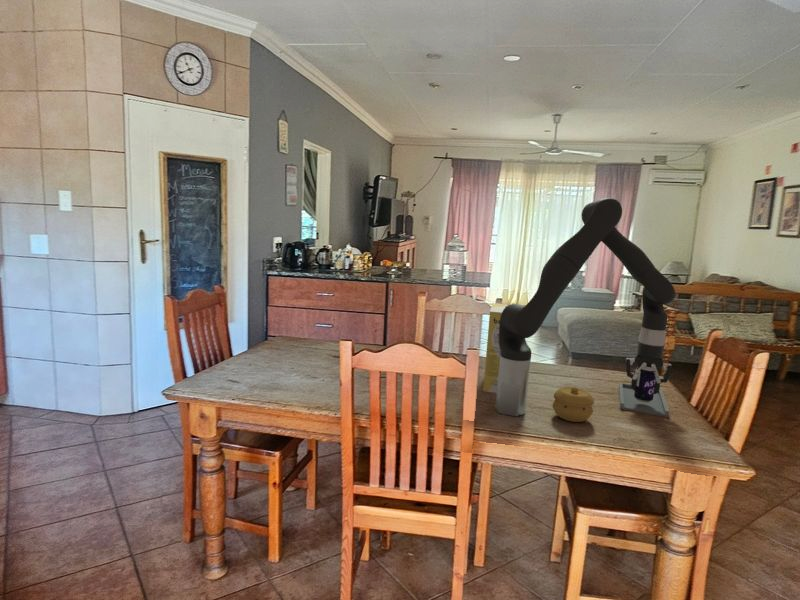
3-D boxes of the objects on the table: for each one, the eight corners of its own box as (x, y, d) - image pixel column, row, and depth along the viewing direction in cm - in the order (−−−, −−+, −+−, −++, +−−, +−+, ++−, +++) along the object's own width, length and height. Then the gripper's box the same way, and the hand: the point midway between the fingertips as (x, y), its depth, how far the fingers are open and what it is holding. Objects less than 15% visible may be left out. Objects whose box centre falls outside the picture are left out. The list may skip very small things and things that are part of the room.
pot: (598, 419, 154) (602, 388, 153) (581, 430, 146) (585, 397, 144) (561, 408, 162) (565, 378, 160) (544, 417, 154) (547, 386, 152)
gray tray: (668, 417, 159) (669, 411, 159) (619, 408, 164) (620, 403, 164) (660, 394, 181) (661, 389, 181) (618, 387, 186) (619, 382, 186)
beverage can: (642, 403, 163) (647, 368, 161) (629, 397, 169) (634, 362, 167) (656, 402, 165) (661, 367, 163) (643, 396, 170) (648, 362, 168)
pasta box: (486, 375, 192) (492, 303, 187) (514, 379, 189) (521, 305, 185) (483, 391, 174) (490, 311, 169) (514, 395, 172) (522, 314, 167)
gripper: (627, 341, 163) (621, 391, 166) (677, 347, 158) (670, 399, 160) (627, 336, 170) (620, 384, 172) (675, 342, 164) (667, 392, 167)
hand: (644, 391), depth 166 cm, fingers closed on beverage can, 5 cm apart
